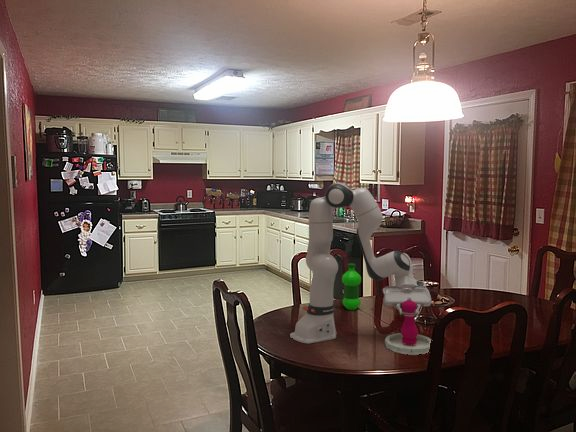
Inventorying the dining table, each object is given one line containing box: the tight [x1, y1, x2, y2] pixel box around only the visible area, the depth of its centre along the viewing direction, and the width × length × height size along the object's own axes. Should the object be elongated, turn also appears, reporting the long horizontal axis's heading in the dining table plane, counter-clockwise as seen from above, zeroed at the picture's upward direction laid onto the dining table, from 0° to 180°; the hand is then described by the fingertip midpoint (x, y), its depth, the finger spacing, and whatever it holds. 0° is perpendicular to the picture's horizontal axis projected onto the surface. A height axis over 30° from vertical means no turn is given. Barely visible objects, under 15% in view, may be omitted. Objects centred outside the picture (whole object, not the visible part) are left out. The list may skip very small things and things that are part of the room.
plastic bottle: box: [341, 263, 362, 311], centre depth 268 cm, size 10×10×25 cm
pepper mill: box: [400, 297, 419, 344], centre depth 210 cm, size 7×7×20 cm
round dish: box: [384, 332, 432, 356], centre depth 211 cm, size 20×20×2 cm
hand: (409, 314), depth 210 cm, fingers closed on pepper mill, 5 cm apart
